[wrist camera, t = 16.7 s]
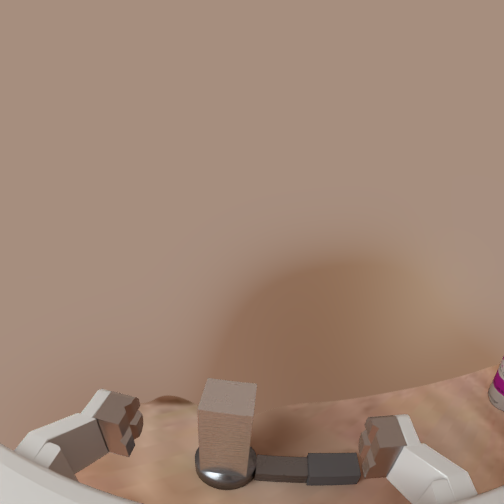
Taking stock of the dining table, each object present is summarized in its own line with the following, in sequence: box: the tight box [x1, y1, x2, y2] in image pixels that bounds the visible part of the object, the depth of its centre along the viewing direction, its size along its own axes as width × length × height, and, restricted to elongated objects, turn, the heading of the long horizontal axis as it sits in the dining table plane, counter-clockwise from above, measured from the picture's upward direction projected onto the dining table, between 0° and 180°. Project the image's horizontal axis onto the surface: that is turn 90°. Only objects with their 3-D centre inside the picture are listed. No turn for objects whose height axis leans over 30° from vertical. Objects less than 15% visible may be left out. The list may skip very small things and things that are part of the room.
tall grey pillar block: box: [197, 378, 257, 477], centre depth 30 cm, size 5×5×10 cm
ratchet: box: [195, 447, 361, 490], centre depth 30 cm, size 19×7×6 cm, turn 86°
